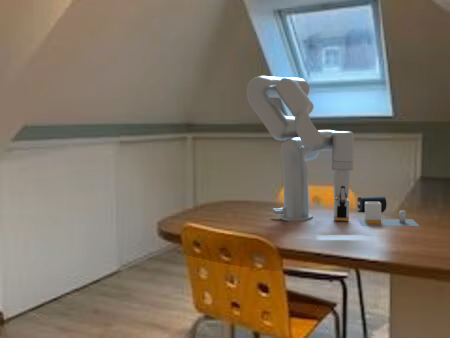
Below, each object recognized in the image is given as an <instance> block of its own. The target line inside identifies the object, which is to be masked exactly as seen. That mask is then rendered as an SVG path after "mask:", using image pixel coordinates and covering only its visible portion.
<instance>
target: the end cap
mask: <svg viewBox="0 0 450 338" xmlns="http://www.w3.org/2000/svg"><path fill="white" fill-rule="evenodd" d="M386 199H387V198H386V197H385V195H384V196H383V195H382V196H381V195H375V196H374V195H373V196H358V197H357V202H358V203H359V204H357V205H356V206H357V209H358V210H357V212H358V213H365V202H380V203H381V213H384V212H385V211H386V210H387V203H388V202H387V200H386Z"/></svg>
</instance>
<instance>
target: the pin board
mask: <svg viewBox="0 0 450 338" xmlns="http://www.w3.org/2000/svg"><path fill="white" fill-rule="evenodd" d="M398 214H399V218H397V219H396V218H388V219H387V218H381V224H366V222H365V218H358V219H357V220H358V222H359V224H360V225H361V226H362V227H420V225H419V224H418V223H417V222H416V221H415V220H414V219H412V218H406V210H399V213H398Z"/></svg>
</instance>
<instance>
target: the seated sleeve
mask: <svg viewBox="0 0 450 338" xmlns="http://www.w3.org/2000/svg"><path fill="white" fill-rule="evenodd" d="M364 219H365V222H366V224H381V219H382V212H381V203H380V202H365V212H364Z"/></svg>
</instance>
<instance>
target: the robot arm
mask: <svg viewBox="0 0 450 338" xmlns="http://www.w3.org/2000/svg"><path fill="white" fill-rule="evenodd" d="M309 93H310V86H309V83H308V82H307V81H306V80H305V79H304V78H301V77H291V76H289V77H281V76H272V75H271V76H268V75H258V76H255V77H253V78H252V79H250V80H249V82H248V84H247V87H246V97H247V101H248V103H249V105H250V107H251V108H252V110H253V111H254V112H255V113H256V116H258V117H259V119H260V120H261V122H262V123H263V125H264V127H265V128H266V129H267V131H268V132H269V133H270V135H271V136H272V137H273V139H275V140H277V141H283V142H282V144H281V146H280V157H281V160H282V161H281V162H282V163H281V164H282V170H283V171H282V172H283V173H282V174H283V176H282V177H283V207H280V208H275V207H274V208H272V214H276V215H277V214H280V215H279V217H280V218H279V219H280V220H282V221H287V222H303V221H311V220H313V218H314V215H313V214H311V213H310V208H309V207H310V205H309V204H310V203H309V201H310V199H309V197H310V195H309V194H310V193H309V191H310V190H309V170H308V169H309V168H308V166H307V164H306V162H308V161H312V160H315V159H317V158H318V157H319V155H320V153H321V152H325V151H331V171H334V173H333V187H332V189H333V190H332V191H333V193H332V194H333V197H334V199H338V206H337V217H338V218H346V212H347V206H346V199H349V194H350V191H349V190H350V179H351V178H350V177H351V175H350V173H351V171H354V153H355V152H354V149H355V134H354V133H353V131H349V130H346V131H345V130H341V131H340V130H332V129H319V130H318V129H317V128H316V126H315V125H314V123H313V122H312V120H311V117H310V115H311V113H312V112H313V110H314V104H313V102H312V101H311V99H310V98H309V97H308V95H309ZM271 98H272V99H273V98H274V99H276V98H278V99H281V101H282V102H283V104H284V105H285V106H286V108H287V110H289V112H290V114H292V115H291V116H290V115H286V114H285V113H284V112H283V111H282V110H281V109H280V107H279V106H278V105H277V104H276V103H275V102H274V101H273V100H272V99H271Z"/></svg>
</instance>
